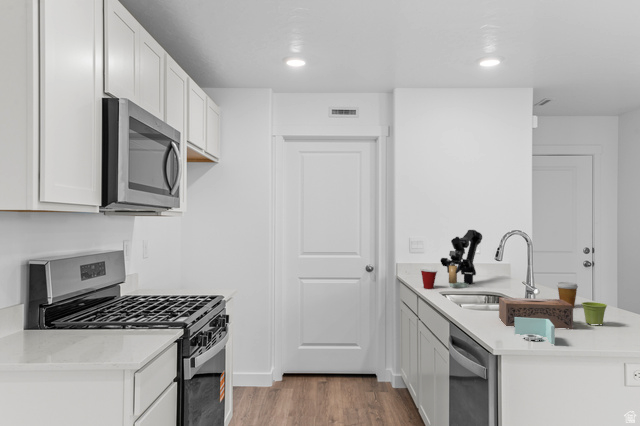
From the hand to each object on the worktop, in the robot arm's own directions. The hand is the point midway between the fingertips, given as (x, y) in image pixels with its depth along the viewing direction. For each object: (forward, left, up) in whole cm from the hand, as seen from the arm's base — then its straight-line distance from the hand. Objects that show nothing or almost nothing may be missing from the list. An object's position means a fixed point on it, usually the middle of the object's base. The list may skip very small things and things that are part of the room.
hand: (451, 272), depth 300 cm
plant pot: (+43, +96, -10) cm, 106 cm away
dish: (-11, -2, -10) cm, 15 cm away
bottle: (-1, 0, -7) cm, 7 cm away
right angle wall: (+88, +90, -11) cm, 127 cm away
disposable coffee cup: (+10, +73, -10) cm, 74 cm away
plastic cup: (+11, -10, -10) cm, 18 cm away
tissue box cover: (+62, +79, -11) cm, 101 cm away
